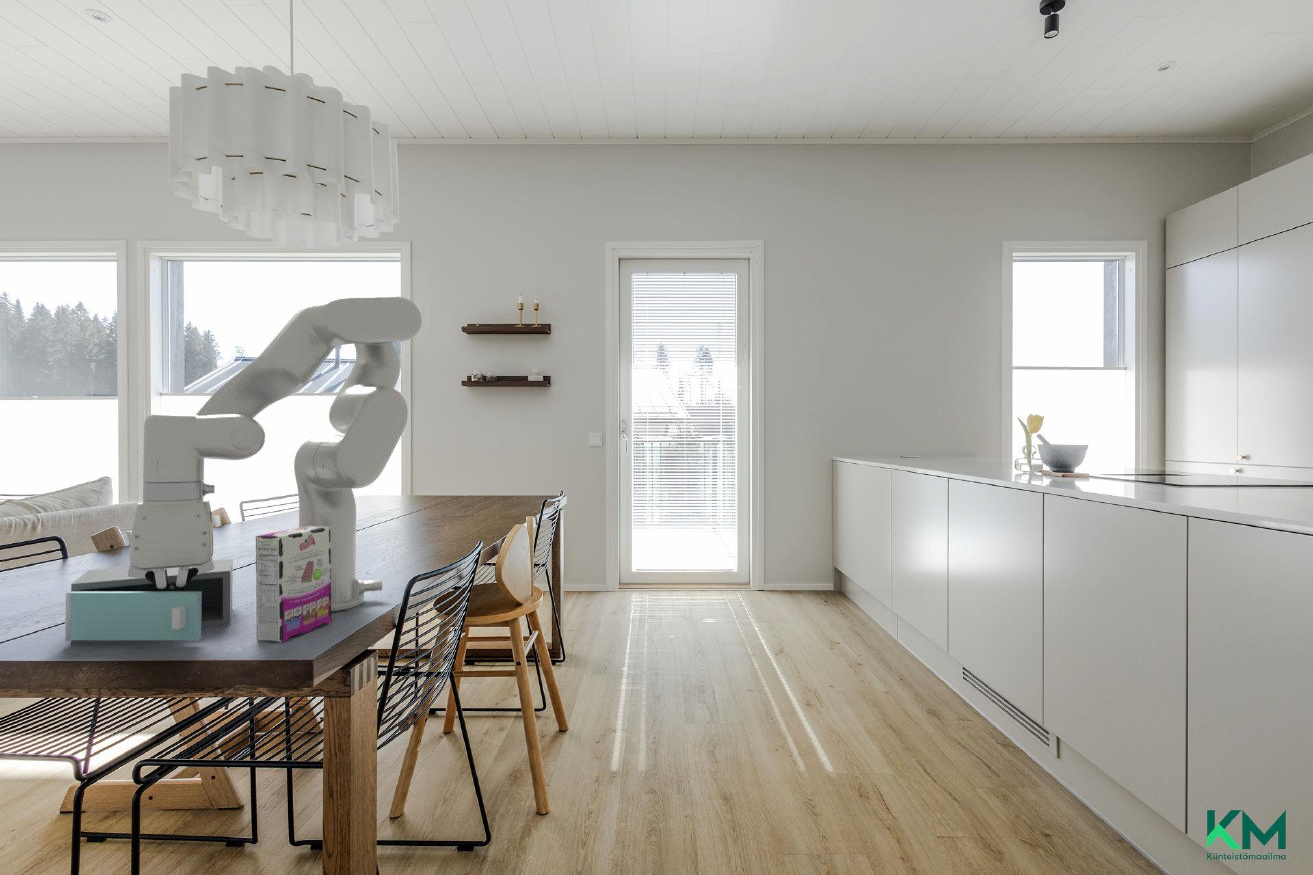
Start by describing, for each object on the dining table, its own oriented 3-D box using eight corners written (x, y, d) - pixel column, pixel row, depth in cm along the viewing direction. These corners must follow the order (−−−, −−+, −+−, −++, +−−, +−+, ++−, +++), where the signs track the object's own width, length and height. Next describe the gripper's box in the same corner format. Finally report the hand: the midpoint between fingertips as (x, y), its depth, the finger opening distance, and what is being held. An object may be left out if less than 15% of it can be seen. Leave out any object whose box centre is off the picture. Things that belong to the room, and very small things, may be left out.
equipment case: (232, 608, 118) (232, 559, 118) (229, 624, 108) (230, 570, 108) (88, 624, 108) (88, 569, 108) (70, 643, 97) (71, 583, 97)
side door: (201, 637, 97) (201, 591, 97) (191, 642, 95) (191, 594, 95) (70, 637, 97) (70, 591, 97) (56, 642, 95) (56, 594, 95)
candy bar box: (306, 621, 110) (307, 525, 110) (332, 623, 109) (333, 526, 109) (253, 641, 99) (254, 534, 99) (281, 644, 98) (282, 535, 98)
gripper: (232, 490, 107) (230, 601, 107) (116, 493, 99) (114, 612, 99) (230, 493, 101) (228, 611, 100) (106, 496, 93) (103, 625, 93)
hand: (171, 612), depth 100 cm, fingers closed
